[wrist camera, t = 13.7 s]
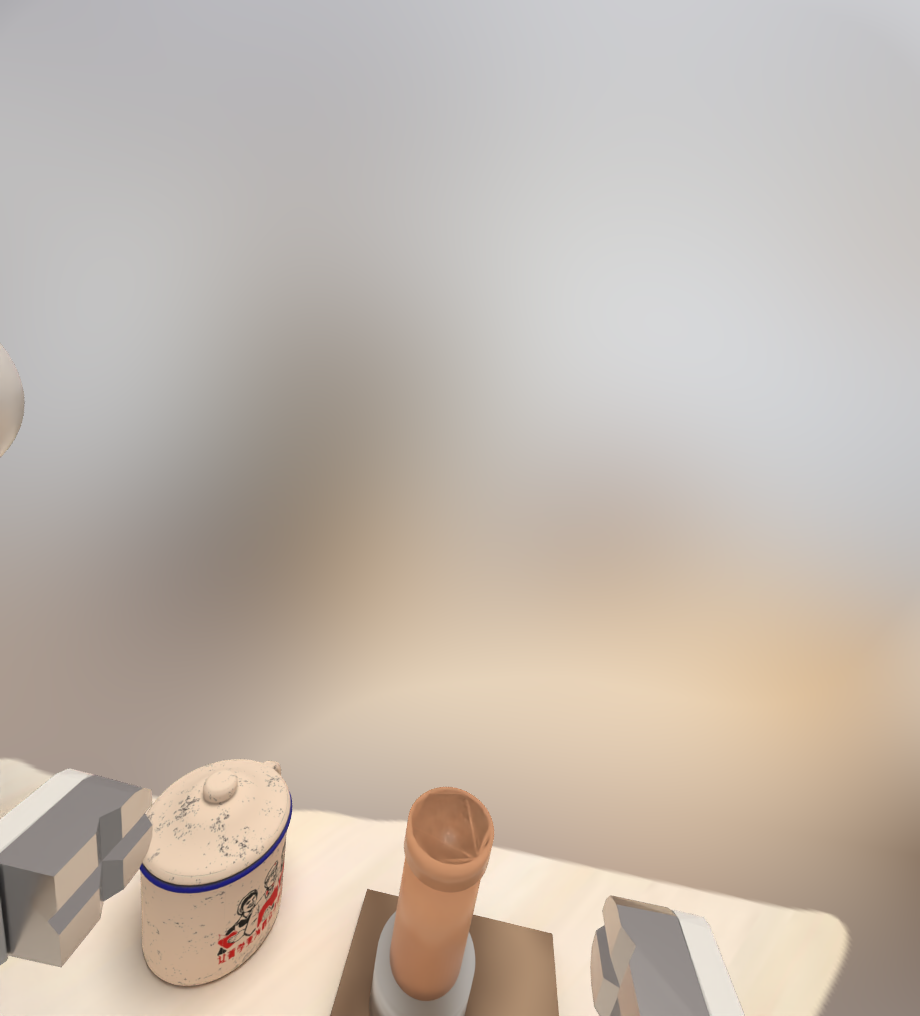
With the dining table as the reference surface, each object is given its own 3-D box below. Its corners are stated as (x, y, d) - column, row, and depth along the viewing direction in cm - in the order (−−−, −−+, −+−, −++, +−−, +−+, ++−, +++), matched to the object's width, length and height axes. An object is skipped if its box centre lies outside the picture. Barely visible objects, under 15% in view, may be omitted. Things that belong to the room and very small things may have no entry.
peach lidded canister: (376, 993, 25) (398, 856, 23) (396, 901, 30) (417, 779, 27) (460, 1015, 25) (492, 878, 22) (468, 919, 30) (495, 796, 27)
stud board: (300, 1125, 24) (308, 1060, 22) (365, 900, 34) (373, 847, 33) (567, 1200, 23) (590, 1135, 22) (548, 945, 33) (564, 893, 32)
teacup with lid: (236, 1014, 27) (244, 867, 24) (100, 971, 28) (93, 824, 25) (321, 832, 39) (334, 718, 36) (223, 806, 40) (228, 692, 37)
